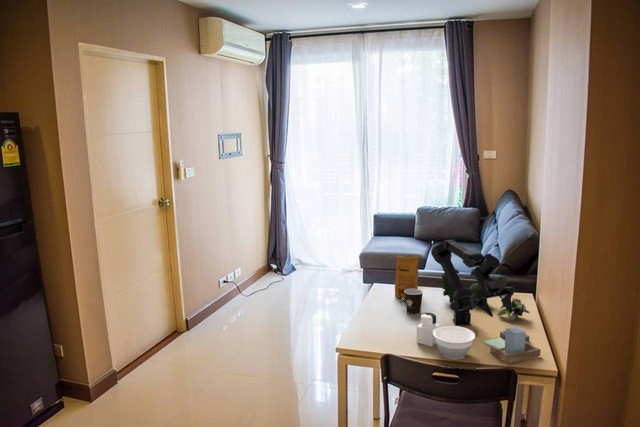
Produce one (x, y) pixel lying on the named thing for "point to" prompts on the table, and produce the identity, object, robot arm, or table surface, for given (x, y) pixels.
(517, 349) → the block
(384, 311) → the table surface
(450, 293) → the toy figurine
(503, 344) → the pad
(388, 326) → the table surface
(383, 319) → the table surface
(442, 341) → the bowl
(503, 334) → the trap tray
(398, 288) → the coffee package
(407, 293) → the coffee mug
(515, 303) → the green leafy cluster
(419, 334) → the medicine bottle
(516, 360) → the brown wooden tray
